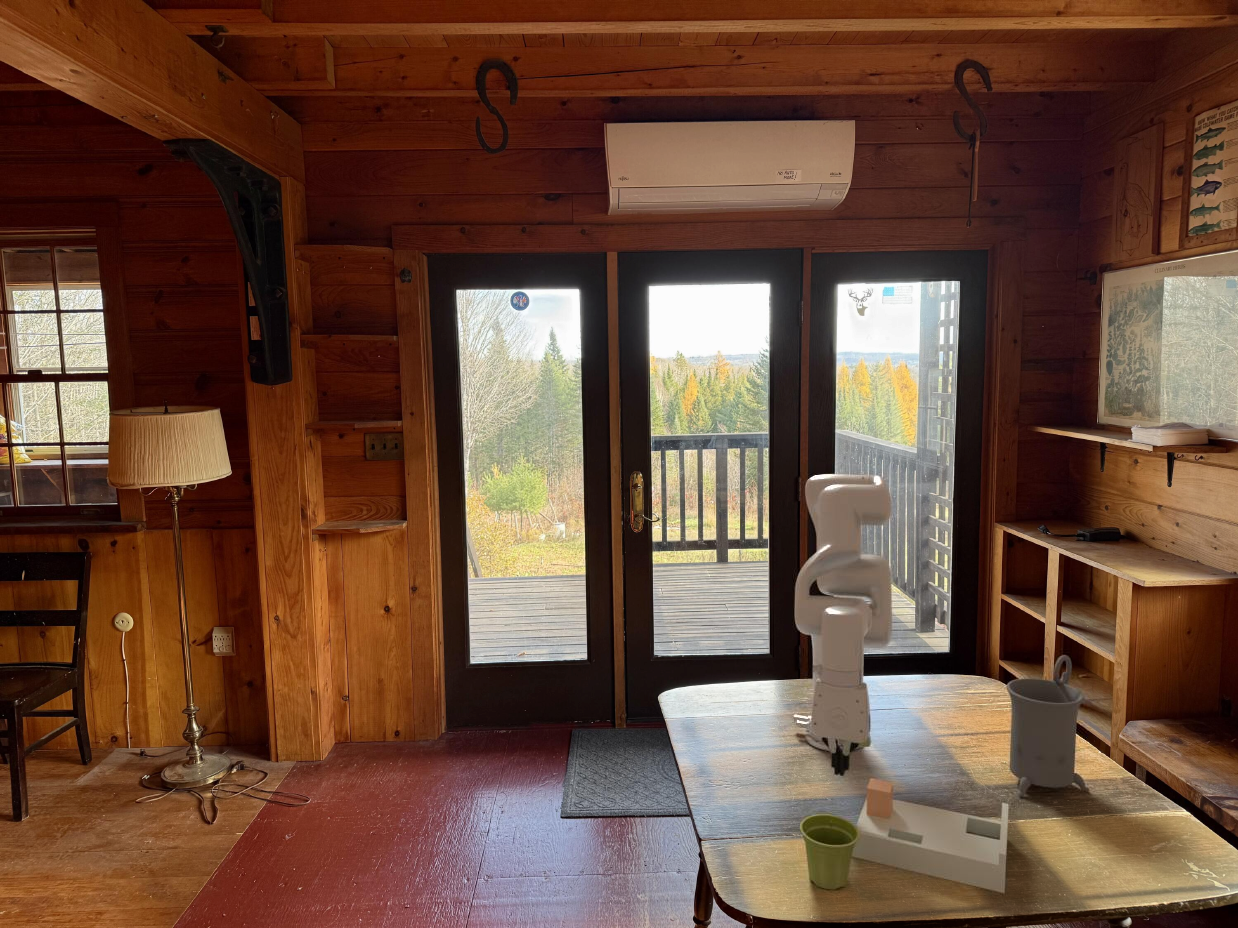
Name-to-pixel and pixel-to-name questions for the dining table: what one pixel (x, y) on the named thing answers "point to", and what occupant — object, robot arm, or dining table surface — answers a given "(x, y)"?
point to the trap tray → (937, 843)
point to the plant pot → (829, 849)
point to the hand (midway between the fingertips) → (840, 772)
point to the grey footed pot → (1044, 730)
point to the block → (880, 798)
